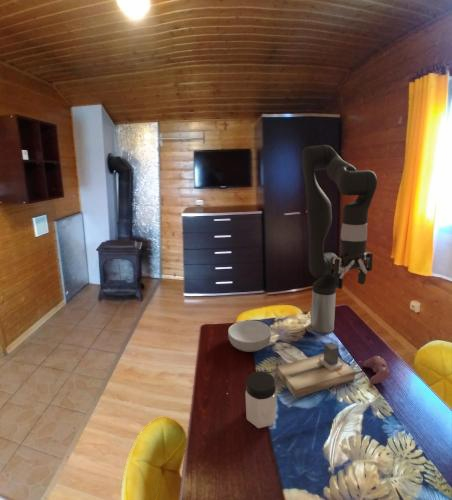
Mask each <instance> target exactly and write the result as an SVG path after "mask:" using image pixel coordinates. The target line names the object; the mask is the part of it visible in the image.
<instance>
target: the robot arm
mask: <svg viewBox="0 0 452 500" xmlns="http://www.w3.org/2000/svg"><path fill="white" fill-rule="evenodd" d="M301 161H302V162H301V163H302V170H303V175H304V184H305V194H306V196H305V197H306V212H307V213H306V214H307V215H306V216H307V223H308V224H307V225H308V243H309V244H308V267H309V272H310V274H311V275H312V276H313V277H314V278H316V279H317V280H316V281H314V282H313V283H312V293H311V294H312V295H311V297H312V299H311V304H310V324H309V325H311V329H312V330H313V331H315V332H318V333H321V334H328V333H332V332H333V331H334V330H335V313H336V295H337V294H336V292H337V289H338V290H341V289H342V290H343V285H344V278H343V277H344V276H345V275H346V274H347V273H348V272H349V271H351V270H353V269H355V270H356V269H357V270H358V271H359V272H358V274H357V275H358V276H357V283H358V284H360V285H365V283H366V275H367V273H368V272H371V271H372V269H373V253H372V252H369V251H367V242H368V220H369V219H368V216H369V209H370V206H371V204H372V201H373V198H374V195H375V192H376V189H377V186H378V179H377V178H378V177H377V175H376V173H375V172H374V171H372V170H369V169H367V170H366V169H365V170H364V169H363V170H357V168H356V167H355V166H354V165H352V164H351V163H349V162H347V161H345V160H343V159H342V157H341V156H340V155H339V154H338V152H337V151H335V149H334V148H333V147H332V146H330V145H329V144H322V145H321V144H319V145H310V146H305V147H304V148H303V150H302V154H301ZM323 170H324V171H325V170H326V173H327V177H328V178H329V179H330V180H331V181H333V183H335V184H336V187H337V189H338V191H339V193H340V194H341V195H344V196H357V198H356V199H355V200H353V201H352V202H348V203H346V204H344V206H343V207H342V208H343V209H342V218H341V219H342V222H341V223H342V224H341V227H340V228H341V229H340V238H339V239H340V241H339V242H340V243H339V251H340V256H338V255H336V253H334V252H324V251H325V250H324V248H325V247H324V246H325V242H326V237H327V235H328V233H329V230H330V229H331V226H332V223H333V212H332V211H333V210H332V202H331V201H330V199H329V197H328V196H327V195H326V193H325V192H324V190H323V189H322V188H321V187H320V185H319V183H318V181H317V178H316V175H315V174H316V173H315V172H316V171H317V172H318V171H323Z"/></svg>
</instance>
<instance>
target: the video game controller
mask: <svg viewBox="0 0 452 500" xmlns="http://www.w3.org/2000/svg"><path fill="white" fill-rule="evenodd" d="M362 365H363V368H371V367H372V371H373V372H374V373H375V375H373V376H372V377H370V378H369V383H370V384H373V385H376V384H381V382H383V381H384V380H387V379H388V378H389V376H390V370H389V367H388V364H387V362H386V360H385V359H384V358H383V356H379V355H373V356H372V357H371V358H368V359H367V360H365V361H363V363H362Z"/></svg>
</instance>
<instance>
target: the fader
mask: <svg viewBox="0 0 452 500" xmlns="http://www.w3.org/2000/svg"><path fill="white" fill-rule="evenodd" d="M323 345H324V346H323V354H324V357H320V358H319V361H320V362H321V363H322V364H323V365H324V366H325V367H326V368H327V369H328V370H329V371H332V370H335V369H338V368H342V367H343V364H342V363H340V362H339V361H338V357H339V350H340V349H339V348H340V347H339V346H337V344H336V343H334V342H333V341H330V342H327V343H324V344H323Z"/></svg>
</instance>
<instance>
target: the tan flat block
mask: <svg viewBox="0 0 452 500" xmlns="http://www.w3.org/2000/svg"><path fill="white" fill-rule="evenodd" d="M320 357H324V353H320V354H317V355H313V356H310V357H305V358H303V359H302V358H301V359H298V360H296V361H291V362H288V363H284V364H281V365H278V366H276V375H277V376H278V378H280V380H281V381H282V382H283V384H284V386H286V387H287V389H288V391H289V392H291V394H292V395H293V397H294V398H295V399H297V398H300V397H304V396H307V395H310V394H313V393H315V392H316V393H317V392H320V391H322V390H325V389H329V388H332V387H335V386H338V385H341V384H344V383H347V382H350V381H354V380H355V378H356V371H355V370H354V369H352V367H350V366H349V365H348V364H347V363H346V362H344V360H342V359H341V358H340V357H339V356H338V361H339V362H340V363H342V364H343V367H342V368H338V369H335V370H332V371H329V370H328V369H327V368H326V367H325V366H324V365H323V364H322V363H321V362H320V361H319V358H320Z"/></svg>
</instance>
